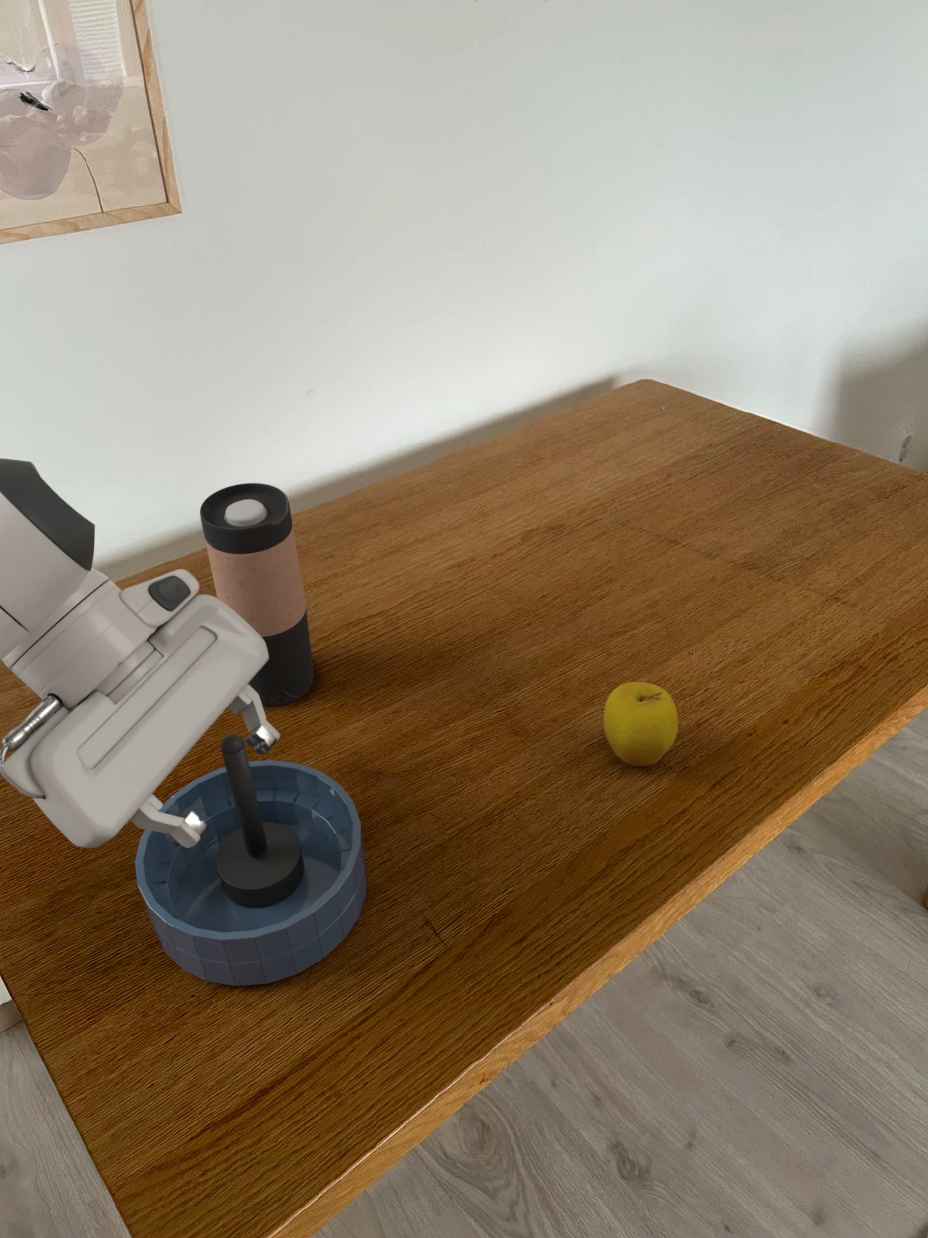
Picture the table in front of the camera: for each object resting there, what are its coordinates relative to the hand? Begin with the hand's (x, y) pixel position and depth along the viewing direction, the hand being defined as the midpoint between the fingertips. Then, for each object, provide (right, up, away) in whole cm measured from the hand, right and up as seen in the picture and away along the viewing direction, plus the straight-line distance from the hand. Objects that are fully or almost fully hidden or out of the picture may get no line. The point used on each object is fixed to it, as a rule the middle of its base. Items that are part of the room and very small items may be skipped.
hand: (236, 790), depth 70 cm
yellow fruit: (+32, 0, +16) cm, 36 cm away
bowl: (+1, -9, +5) cm, 10 cm away
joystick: (+1, -8, +6) cm, 10 cm away
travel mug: (-2, +6, +25) cm, 25 cm away
